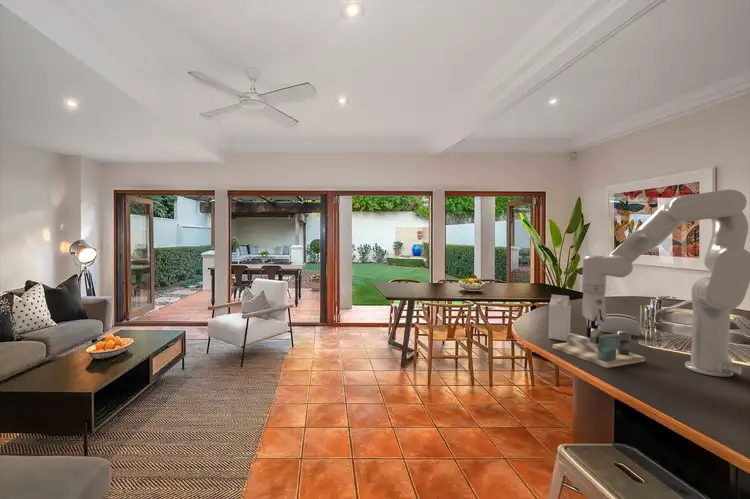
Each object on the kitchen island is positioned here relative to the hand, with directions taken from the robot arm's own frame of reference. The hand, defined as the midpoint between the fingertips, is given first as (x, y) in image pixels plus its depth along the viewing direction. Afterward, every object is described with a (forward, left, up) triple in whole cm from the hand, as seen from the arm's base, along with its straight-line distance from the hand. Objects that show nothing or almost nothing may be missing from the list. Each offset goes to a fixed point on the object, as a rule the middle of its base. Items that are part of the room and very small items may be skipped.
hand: (591, 337), depth 146 cm
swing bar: (-4, -4, -1) cm, 6 cm away
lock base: (+2, -4, -7) cm, 9 cm away
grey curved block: (+21, -42, -8) cm, 48 cm away
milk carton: (+24, -9, -8) cm, 27 cm away
